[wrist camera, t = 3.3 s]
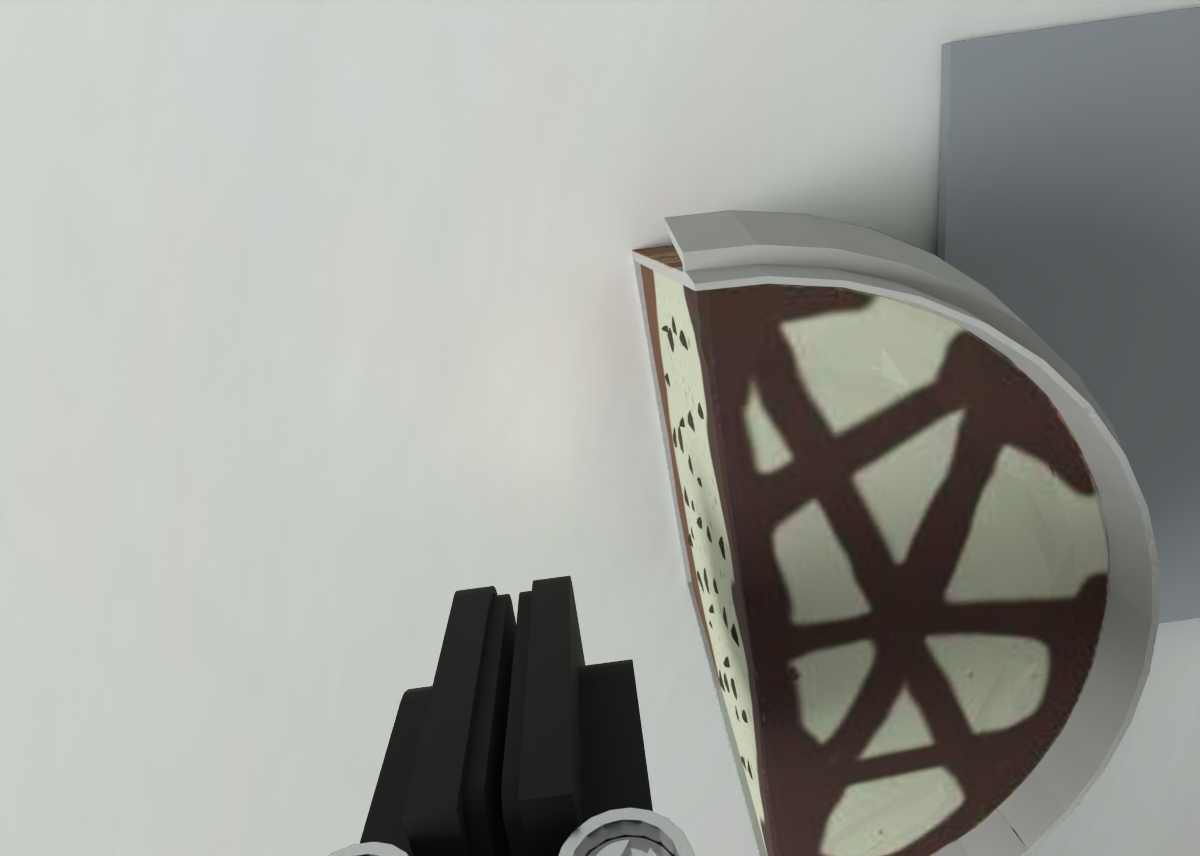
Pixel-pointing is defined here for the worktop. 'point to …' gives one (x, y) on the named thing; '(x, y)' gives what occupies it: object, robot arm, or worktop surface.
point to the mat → (1094, 232)
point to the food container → (893, 539)
